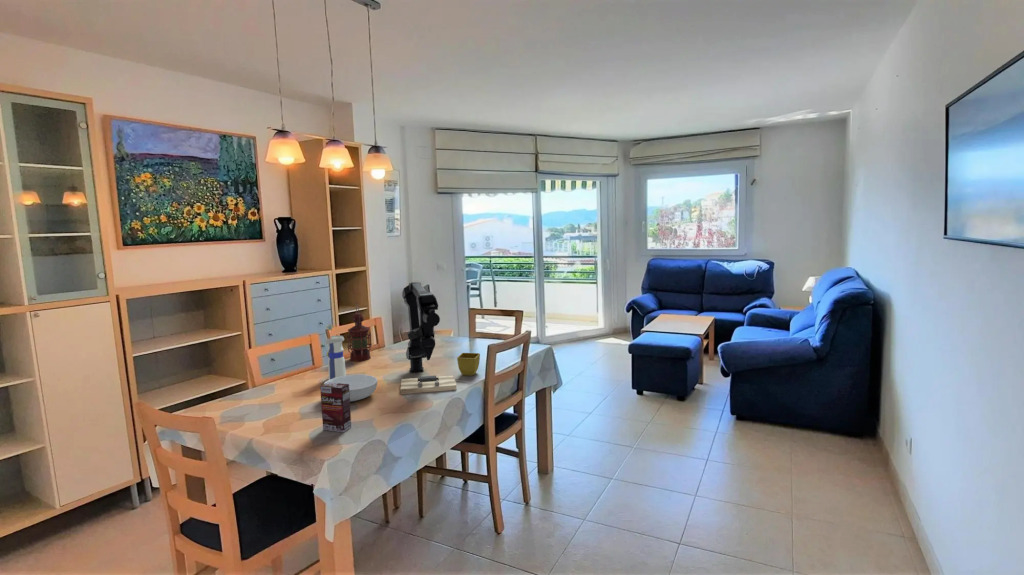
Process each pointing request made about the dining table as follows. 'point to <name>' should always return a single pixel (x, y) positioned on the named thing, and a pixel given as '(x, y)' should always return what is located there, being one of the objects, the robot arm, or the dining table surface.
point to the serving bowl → (357, 385)
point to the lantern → (359, 339)
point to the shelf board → (428, 385)
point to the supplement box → (335, 407)
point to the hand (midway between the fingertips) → (428, 357)
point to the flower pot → (468, 363)
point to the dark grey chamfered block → (427, 378)
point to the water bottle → (335, 356)
